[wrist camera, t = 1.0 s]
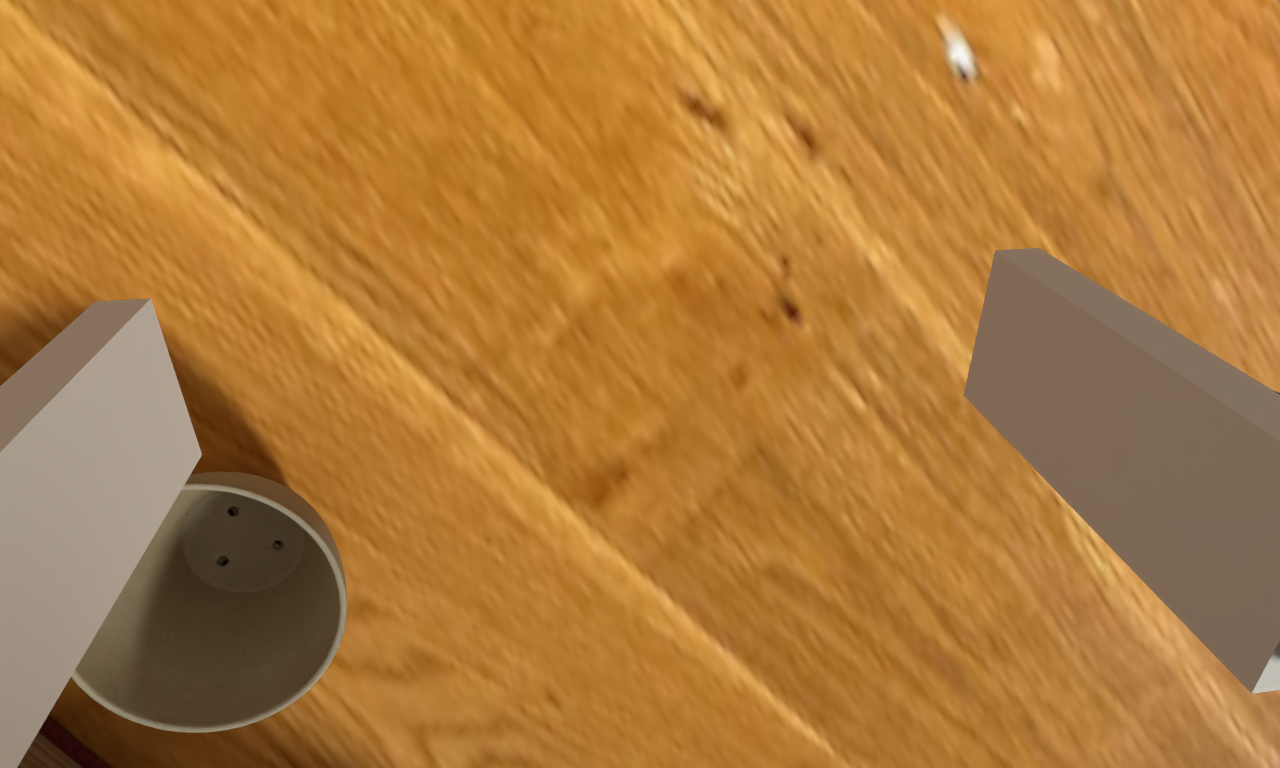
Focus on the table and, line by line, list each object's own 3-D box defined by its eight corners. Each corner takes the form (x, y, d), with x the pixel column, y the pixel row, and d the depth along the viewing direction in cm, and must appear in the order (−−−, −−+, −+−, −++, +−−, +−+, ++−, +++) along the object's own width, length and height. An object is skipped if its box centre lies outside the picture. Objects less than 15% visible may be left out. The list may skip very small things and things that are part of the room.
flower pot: (289, 389, 36) (255, 436, 29) (401, 570, 39) (394, 650, 32) (68, 496, 34) (-21, 571, 28) (203, 674, 37) (152, 780, 31)
